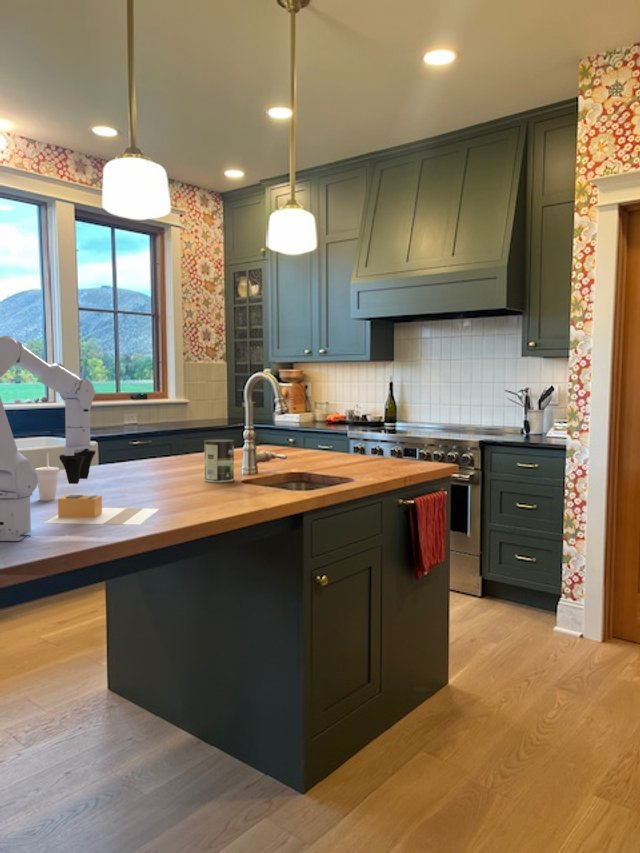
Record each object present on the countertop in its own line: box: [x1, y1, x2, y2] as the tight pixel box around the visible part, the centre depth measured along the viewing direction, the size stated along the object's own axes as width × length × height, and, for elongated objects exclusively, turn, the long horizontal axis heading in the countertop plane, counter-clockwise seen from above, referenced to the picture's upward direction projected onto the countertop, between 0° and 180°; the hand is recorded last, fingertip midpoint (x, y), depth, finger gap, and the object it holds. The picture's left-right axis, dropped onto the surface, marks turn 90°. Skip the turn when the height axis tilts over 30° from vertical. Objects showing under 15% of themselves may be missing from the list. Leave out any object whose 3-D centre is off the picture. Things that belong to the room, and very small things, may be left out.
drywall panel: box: [42, 507, 160, 526], centre depth 157 cm, size 18×23×1 cm
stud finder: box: [57, 494, 103, 518], centre depth 157 cm, size 5×9×5 cm, turn 90°
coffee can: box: [203, 438, 235, 484], centre depth 218 cm, size 10×10×14 cm
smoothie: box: [34, 452, 60, 502], centre depth 175 cm, size 6×6×14 cm
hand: (78, 481), depth 157 cm, fingers open, 7 cm apart
